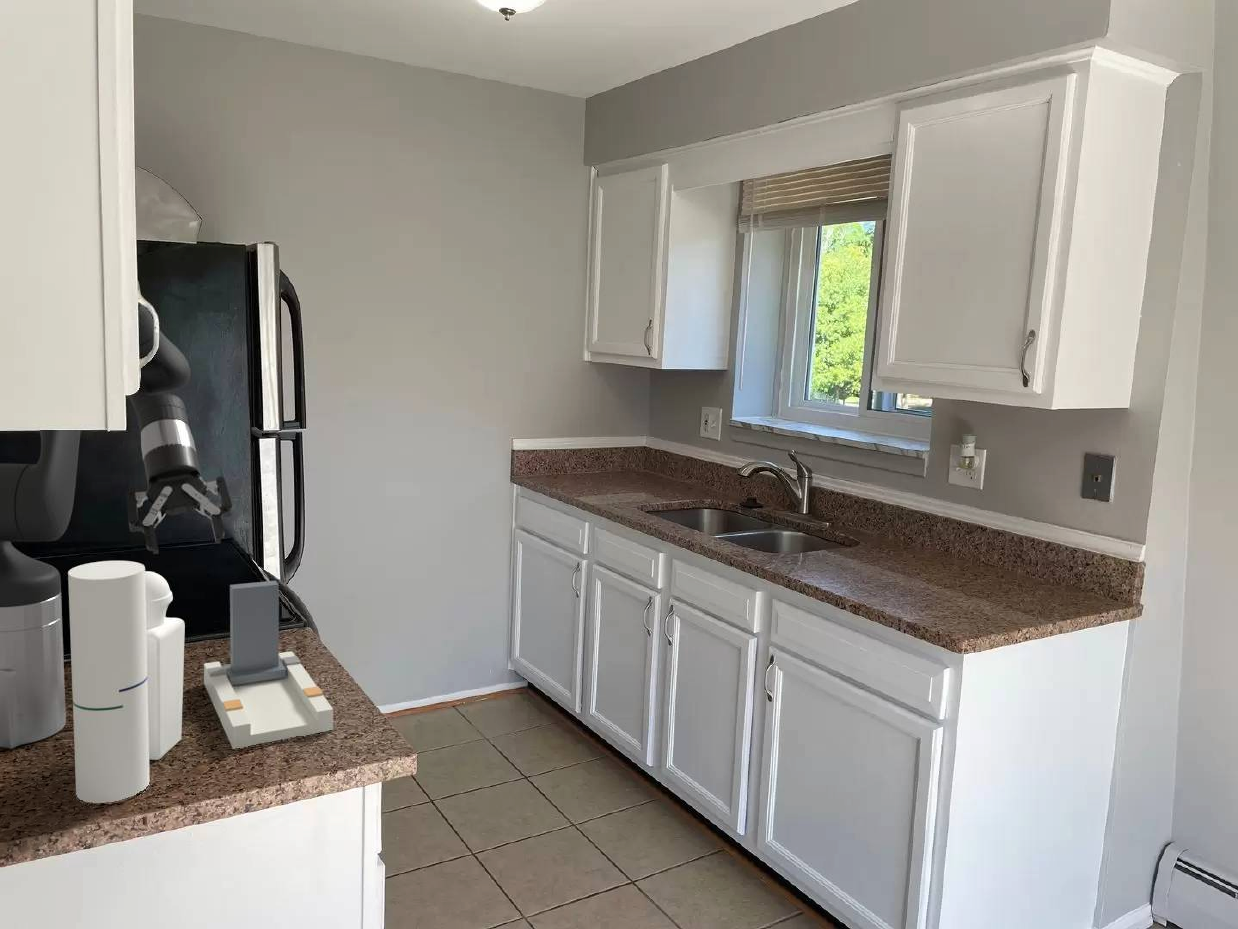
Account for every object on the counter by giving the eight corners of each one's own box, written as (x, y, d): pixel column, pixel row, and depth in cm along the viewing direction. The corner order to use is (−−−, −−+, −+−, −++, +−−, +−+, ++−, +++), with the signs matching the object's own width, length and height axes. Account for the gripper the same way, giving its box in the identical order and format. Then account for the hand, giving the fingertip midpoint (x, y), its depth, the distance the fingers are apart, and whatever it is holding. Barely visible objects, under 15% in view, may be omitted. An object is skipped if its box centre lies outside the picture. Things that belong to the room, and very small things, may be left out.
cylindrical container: (162, 786, 104) (158, 570, 99) (96, 812, 98) (89, 583, 94) (128, 766, 107) (123, 557, 103) (63, 790, 102) (55, 569, 98)
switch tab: (223, 673, 131) (222, 582, 129) (278, 665, 135) (278, 577, 133) (229, 686, 127) (229, 592, 124) (286, 677, 130) (286, 587, 128)
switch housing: (204, 683, 131) (203, 661, 130) (291, 670, 137) (292, 649, 137) (233, 749, 113) (233, 724, 112) (332, 731, 119) (333, 707, 119)
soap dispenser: (187, 738, 115) (185, 566, 111) (160, 763, 109) (157, 581, 105) (135, 734, 115) (131, 562, 112) (105, 759, 109) (100, 578, 105)
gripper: (116, 449, 138) (131, 543, 132) (218, 436, 145) (238, 525, 138) (121, 475, 144) (136, 567, 138) (219, 461, 151) (238, 548, 144)
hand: (187, 546), depth 138 cm, fingers open, 8 cm apart
